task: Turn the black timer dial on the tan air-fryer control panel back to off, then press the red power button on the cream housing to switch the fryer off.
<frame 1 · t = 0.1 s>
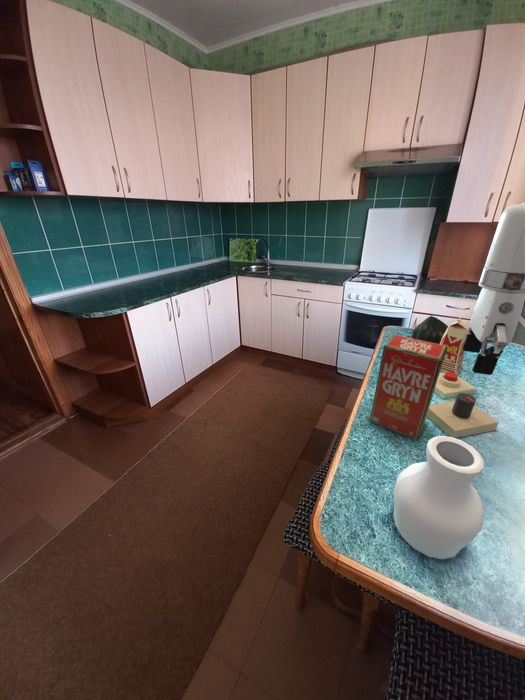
hand: (475, 361, 60), 27 cm above the table, tool pointing down, fingers open, 9 cm apart
milk carton: (445, 367, 111), on the table
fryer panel: (457, 421, 83), on the table
power button: (450, 376, 96), point 4 cm above the table, slide at 0.1 cm
timer dial: (463, 405, 81), point 6 cm above the table, hinge at 90.0°
vase: (425, 527, 57), on the table
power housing: (447, 388, 98), on the table
food packaging: (396, 422, 84), on the table
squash: (428, 349, 124), on the table
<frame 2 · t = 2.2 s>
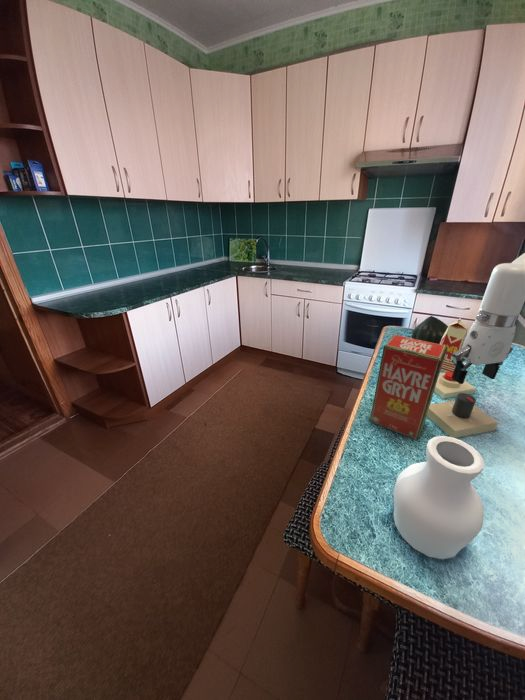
hand: (472, 378, 76), 15 cm above the table, tool pointing down, fingers open, 9 cm apart
nothing on the table moved.
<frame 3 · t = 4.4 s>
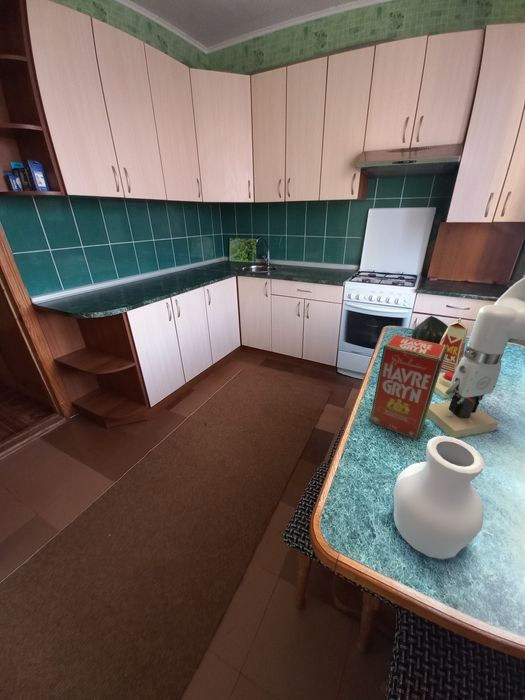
hand: (461, 410, 82), 4 cm above the table, tool pointing down, fingers closed on timer dial, 4 cm apart
timer dial: (463, 405, 81), point 6 cm above the table, hinge at 90.1°, touching gripper
everything else where it was.
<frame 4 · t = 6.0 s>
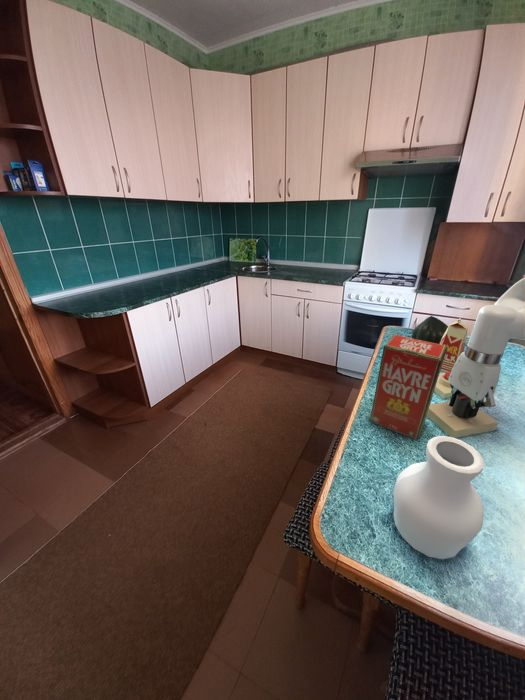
hand: (461, 410, 82), 4 cm above the table, tool pointing down, fingers closed on timer dial, 4 cm apart
timer dial: (463, 405, 81), point 6 cm above the table, hinge at -0.9°, touching gripper
everything else where it was.
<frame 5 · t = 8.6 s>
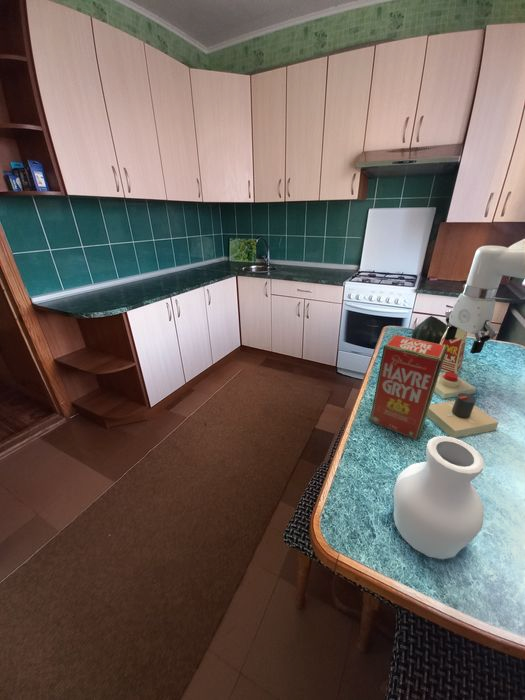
hand: (461, 345, 90), 16 cm above the table, tool pointing down, fingers open, 9 cm apart
timer dial: (463, 405, 81), point 6 cm above the table, hinge at -1.5°
everything else where it was.
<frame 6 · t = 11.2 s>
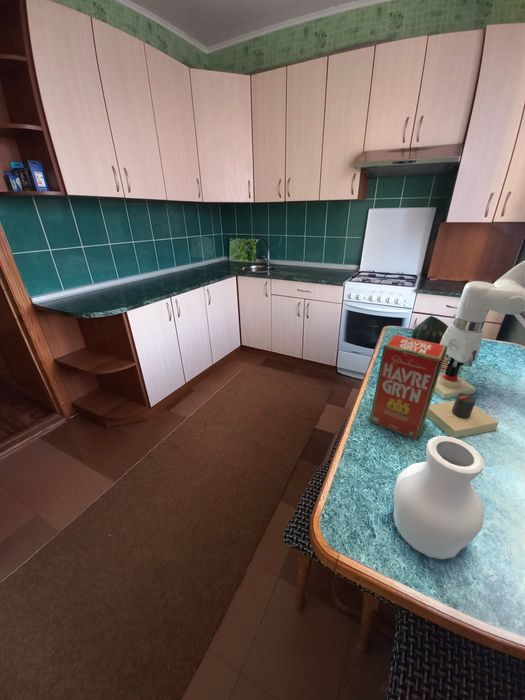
hand: (450, 374, 96), 5 cm above the table, tool pointing down, fingers closed
power button: (450, 377, 96), point 4 cm above the table, slide at -0.1 cm, touching gripper
everything else where it was.
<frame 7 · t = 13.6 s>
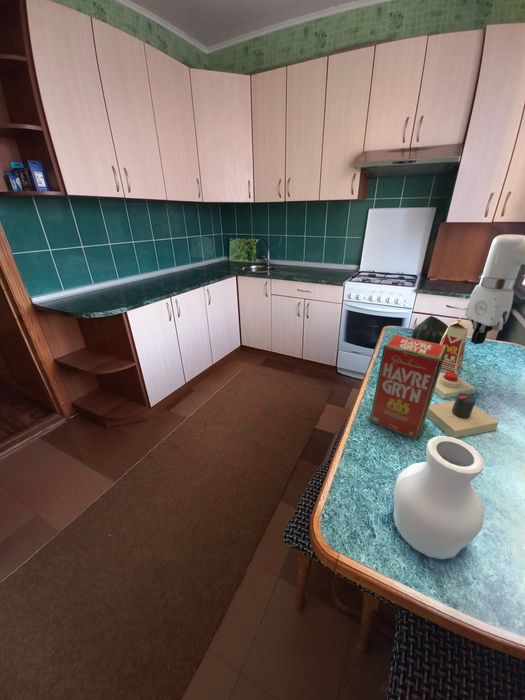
hand: (476, 342, 88), 18 cm above the table, tool pointing down, fingers closed
power button: (450, 376, 96), point 4 cm above the table, slide at 0.1 cm
everything else where it was.
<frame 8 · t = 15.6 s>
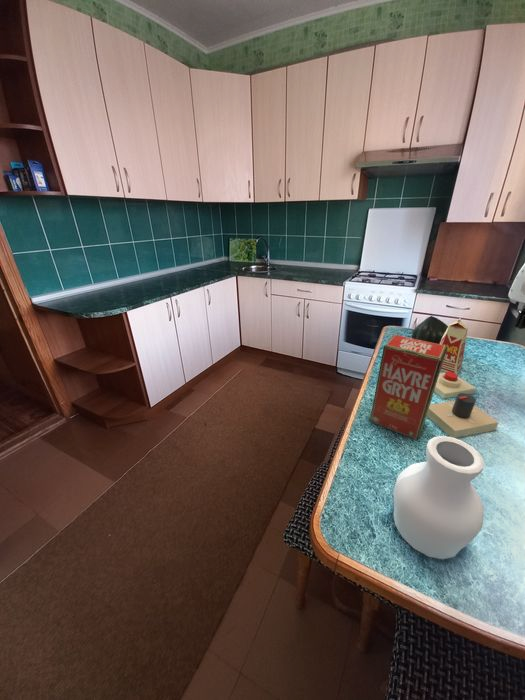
hand: (521, 327, 80), 25 cm above the table, tool pointing down, fingers closed
nothing on the table moved.
at the end: timer dial at -2° (first picture: +90°); power button pushed in 1.1 cm at the most during the clip, back to where it started at the end; power button slide at 0.1 cm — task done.
